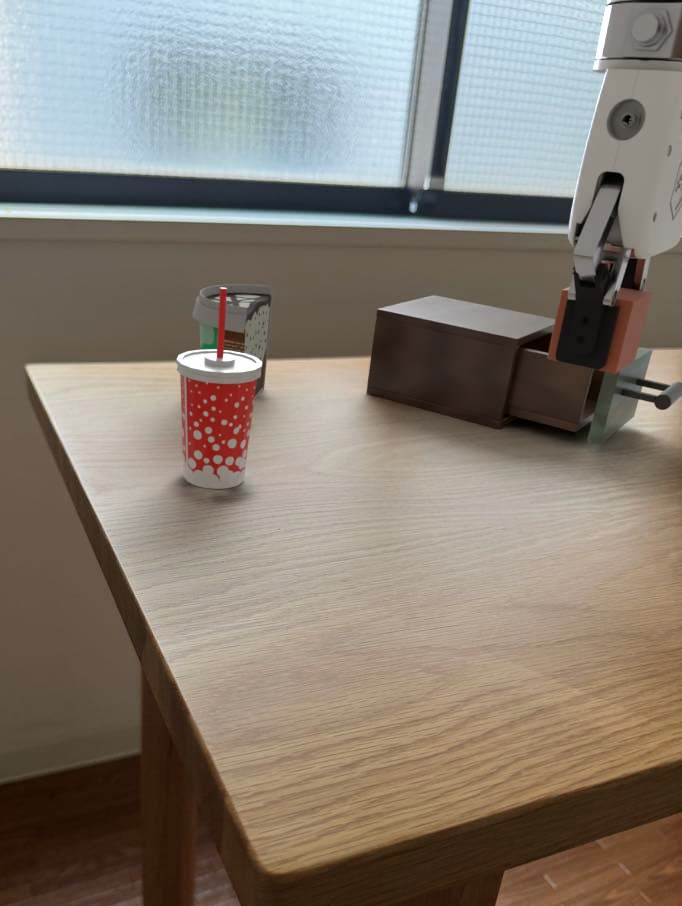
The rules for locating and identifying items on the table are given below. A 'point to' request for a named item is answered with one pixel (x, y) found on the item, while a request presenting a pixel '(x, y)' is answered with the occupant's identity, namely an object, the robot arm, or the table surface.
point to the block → (625, 330)
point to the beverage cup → (216, 411)
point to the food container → (238, 321)
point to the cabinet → (450, 356)
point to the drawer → (581, 391)
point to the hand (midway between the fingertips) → (592, 354)
